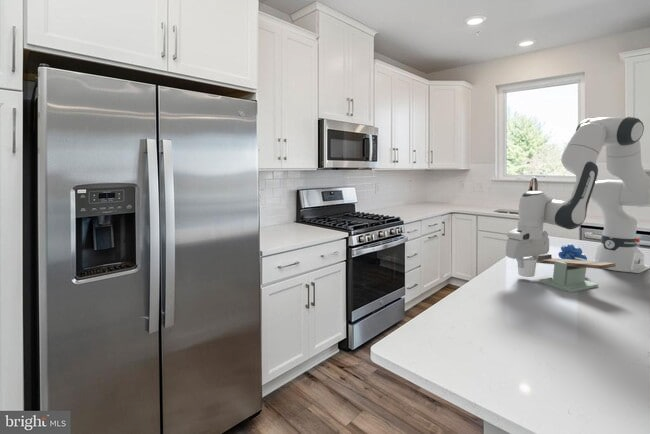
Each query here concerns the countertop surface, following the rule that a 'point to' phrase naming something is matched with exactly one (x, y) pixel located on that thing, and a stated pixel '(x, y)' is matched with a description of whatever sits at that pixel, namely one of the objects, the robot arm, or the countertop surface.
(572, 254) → the grapes
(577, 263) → the seesaw beam
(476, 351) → the countertop surface
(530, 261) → the white cup
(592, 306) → the countertop surface
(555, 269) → the pivot stand
